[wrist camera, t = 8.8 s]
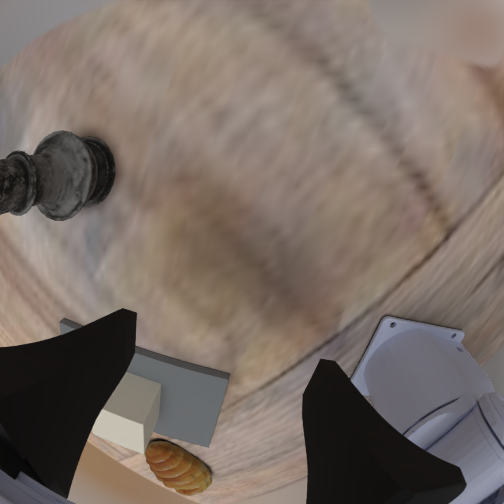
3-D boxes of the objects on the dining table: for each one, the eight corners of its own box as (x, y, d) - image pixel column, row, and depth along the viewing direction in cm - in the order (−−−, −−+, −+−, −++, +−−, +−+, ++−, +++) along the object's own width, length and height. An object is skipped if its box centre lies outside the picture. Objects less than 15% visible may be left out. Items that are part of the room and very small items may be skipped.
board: (229, 373, 23) (228, 379, 22) (209, 442, 26) (208, 447, 25) (63, 318, 23) (59, 322, 22) (76, 394, 26) (72, 399, 25)
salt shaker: (115, 216, 19) (-12, 277, 8) (56, 206, 19) (-63, 250, 8) (123, 133, 18) (-15, 125, 6) (62, 132, 18) (-65, 136, 6)
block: (161, 383, 23) (143, 424, 18) (159, 416, 24) (144, 454, 20) (110, 365, 23) (85, 401, 18) (113, 399, 24) (93, 434, 20)
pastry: (134, 438, 28) (124, 461, 24) (178, 434, 27) (170, 460, 23) (177, 476, 30) (171, 497, 26) (220, 473, 29) (216, 496, 25)
